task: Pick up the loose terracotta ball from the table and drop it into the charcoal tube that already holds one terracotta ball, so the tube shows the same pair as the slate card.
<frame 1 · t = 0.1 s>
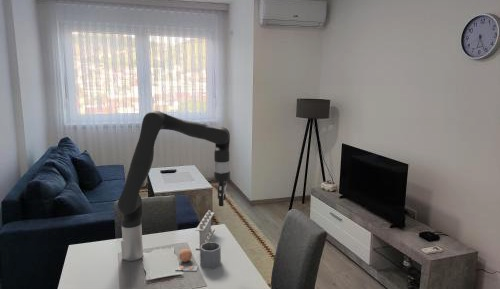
hand: (222, 202, 167), 29 cm above the table, tool pointing down, fingers open, 8 cm apart
test tube rack: (205, 239, 193), on the table
ball in tube: (210, 258, 167), point 3 cm above the table
ball: (185, 255, 169), point 3 cm above the table
target card: (186, 268, 163), on the table
tube: (210, 263, 167), on the table
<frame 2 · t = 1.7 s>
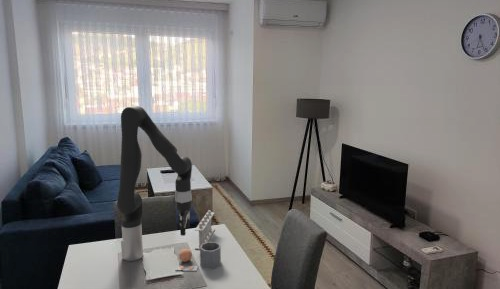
hand: (185, 231, 167), 16 cm above the table, tool pointing down, fingers open, 8 cm apart
nothing on the table moved.
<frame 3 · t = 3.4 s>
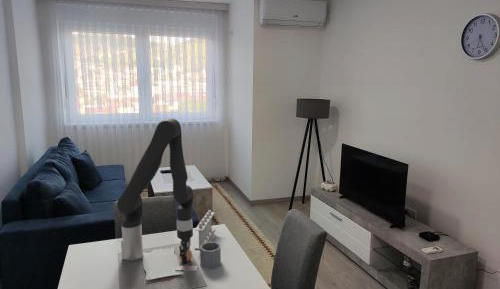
hand: (185, 259, 169), 1 cm above the table, tool pointing down, fingers closed on ball, 6 cm apart
ball: (185, 255, 169), point 3 cm above the table, touching gripper
everything else where it was.
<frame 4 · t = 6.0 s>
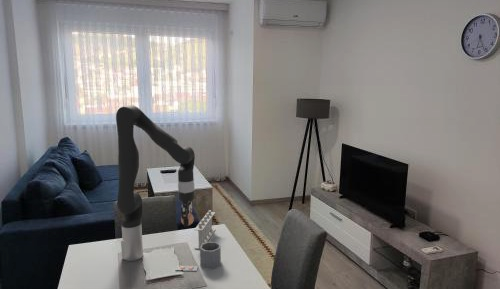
hand: (187, 223, 166), 20 cm above the table, tool pointing down, fingers closed on ball, 6 cm apart
ball: (187, 219, 165), point 22 cm above the table, touching gripper
everything else where it was.
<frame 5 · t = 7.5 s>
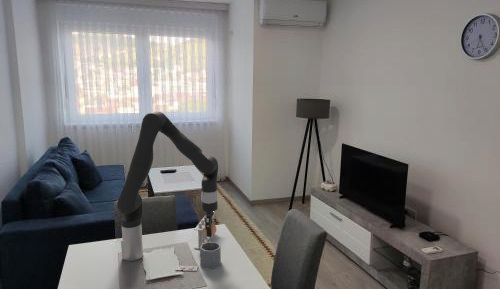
hand: (210, 233, 164), 16 cm above the table, tool pointing down, fingers closed on ball, 6 cm apart
ball: (210, 229, 164), point 18 cm above the table, touching gripper
everything else where it was.
when the fingers open (11 cm above the table, at t = 8.8 s): ball drops 4 cm and tips over, resting on ball in tube.
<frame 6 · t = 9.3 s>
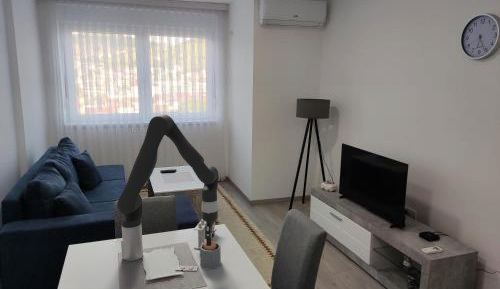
hand: (210, 241, 165), 12 cm above the table, tool pointing down, fingers open, 8 cm apart
ball in tube: (210, 258, 166), point 3 cm above the table, tilted 6°, touching ball
ball: (209, 245, 167), point 9 cm above the table, tilted 32°, touching ball in tube
everything else where it was.
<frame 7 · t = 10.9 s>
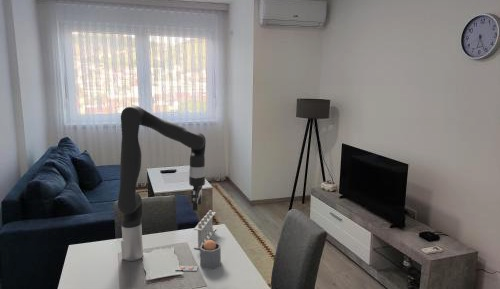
hand: (197, 207, 169), 26 cm above the table, tool pointing down, fingers open, 8 cm apart
ball in tube: (210, 259, 166), point 3 cm above the table, tilted 20°, touching ball, tube
ball: (209, 246, 167), point 9 cm above the table, tilted 61°, touching ball in tube, tube
everything else where it was.
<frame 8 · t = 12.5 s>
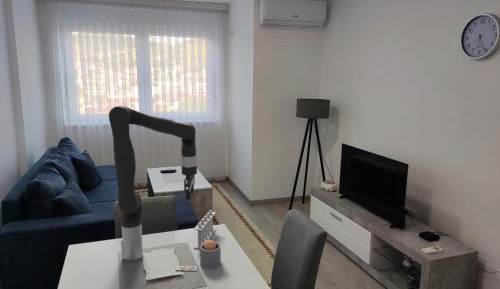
hand: (190, 196, 173), 30 cm above the table, tool pointing down, fingers open, 8 cm apart
nothing on the table moved.
at the end: ball 1.1 cm from the tube (horizontally); ball point 8.6 cm above the table; the gripper is holding nothing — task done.
